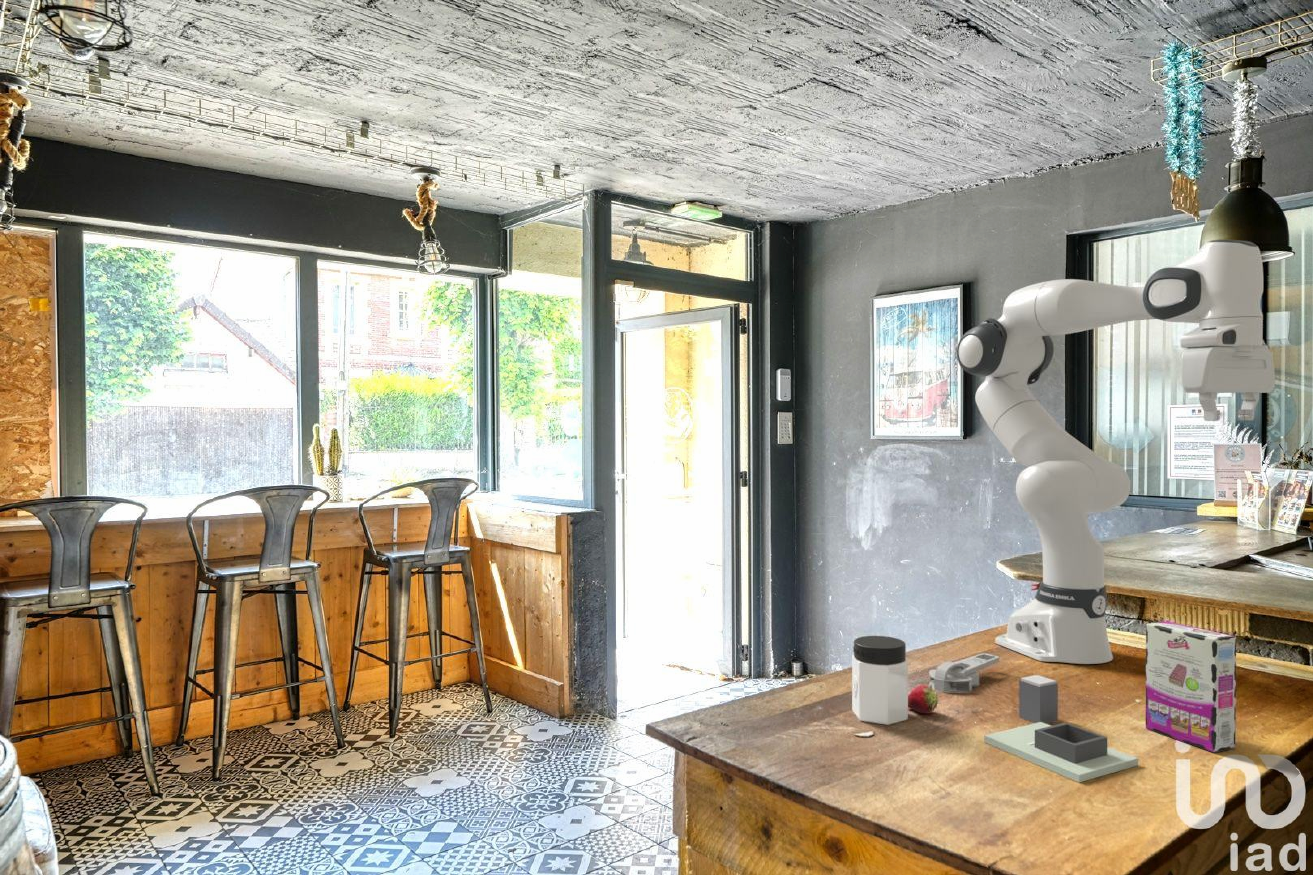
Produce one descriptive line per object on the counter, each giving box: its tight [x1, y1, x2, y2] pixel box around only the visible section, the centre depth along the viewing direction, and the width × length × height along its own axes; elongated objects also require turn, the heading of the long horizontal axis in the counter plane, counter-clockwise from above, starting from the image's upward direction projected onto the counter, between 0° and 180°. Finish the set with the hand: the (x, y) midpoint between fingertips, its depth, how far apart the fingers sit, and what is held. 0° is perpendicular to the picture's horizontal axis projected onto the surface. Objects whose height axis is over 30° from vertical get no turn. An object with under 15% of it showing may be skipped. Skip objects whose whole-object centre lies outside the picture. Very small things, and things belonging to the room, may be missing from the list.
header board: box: [983, 722, 1139, 783], centre depth 125 cm, size 16×12×4 cm
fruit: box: [908, 684, 939, 715], centre depth 143 cm, size 4×6×5 cm
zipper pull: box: [928, 652, 1000, 694], centre depth 159 cm, size 8×18×4 cm, turn 130°
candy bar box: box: [1145, 620, 1237, 753], centre depth 130 cm, size 11×5×16 cm, turn 23°
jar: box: [851, 635, 909, 726], centre depth 141 cm, size 9×8×12 cm
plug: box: [1018, 674, 1059, 725], centre depth 139 cm, size 4×4×6 cm
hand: (1229, 420), depth 146 cm, fingers open, 8 cm apart
